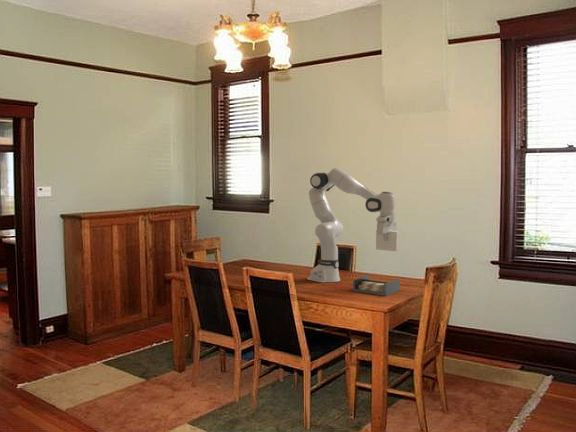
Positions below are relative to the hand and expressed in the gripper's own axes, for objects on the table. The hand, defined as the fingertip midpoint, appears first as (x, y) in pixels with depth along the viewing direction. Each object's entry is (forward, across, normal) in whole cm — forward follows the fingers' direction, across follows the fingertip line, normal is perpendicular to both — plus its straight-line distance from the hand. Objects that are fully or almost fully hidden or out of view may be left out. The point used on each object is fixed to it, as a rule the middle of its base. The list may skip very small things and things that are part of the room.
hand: (387, 240), depth 335 cm
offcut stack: (+28, +19, +1) cm, 34 cm away
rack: (+29, +15, +1) cm, 33 cm away
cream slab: (+6, 0, 0) cm, 6 cm away
